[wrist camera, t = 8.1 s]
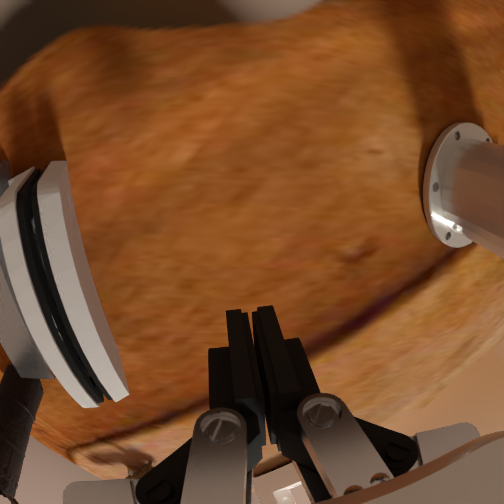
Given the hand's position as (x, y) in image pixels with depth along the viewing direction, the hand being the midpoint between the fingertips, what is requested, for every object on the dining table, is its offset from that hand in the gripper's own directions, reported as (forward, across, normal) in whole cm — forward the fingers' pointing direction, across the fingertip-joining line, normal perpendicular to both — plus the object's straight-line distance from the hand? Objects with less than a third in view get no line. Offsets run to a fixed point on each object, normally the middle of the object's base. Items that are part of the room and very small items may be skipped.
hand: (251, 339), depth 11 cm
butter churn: (+10, +24, +14) cm, 29 cm away
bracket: (+12, -7, +41) cm, 43 cm away
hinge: (+11, +12, +1) cm, 16 cm away
